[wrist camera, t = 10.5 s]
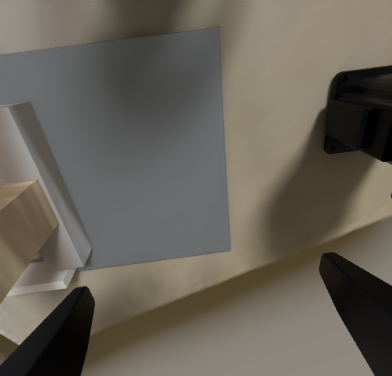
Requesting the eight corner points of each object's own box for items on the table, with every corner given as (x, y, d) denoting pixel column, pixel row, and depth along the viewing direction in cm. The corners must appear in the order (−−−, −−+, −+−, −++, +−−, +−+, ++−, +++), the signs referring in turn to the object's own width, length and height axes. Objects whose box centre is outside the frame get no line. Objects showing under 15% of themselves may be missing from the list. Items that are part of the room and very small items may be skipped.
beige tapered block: (29, 101, 17) (-241, 175, 6) (92, 247, 24) (19, 409, 13) (-12, 106, 17) (-361, 190, 6) (62, 251, 24) (-37, 416, 13)
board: (217, 27, 16) (218, 27, 16) (229, 247, 26) (230, 250, 25) (-135, 72, 16) (-144, 72, 16) (9, 277, 26) (6, 280, 25)
